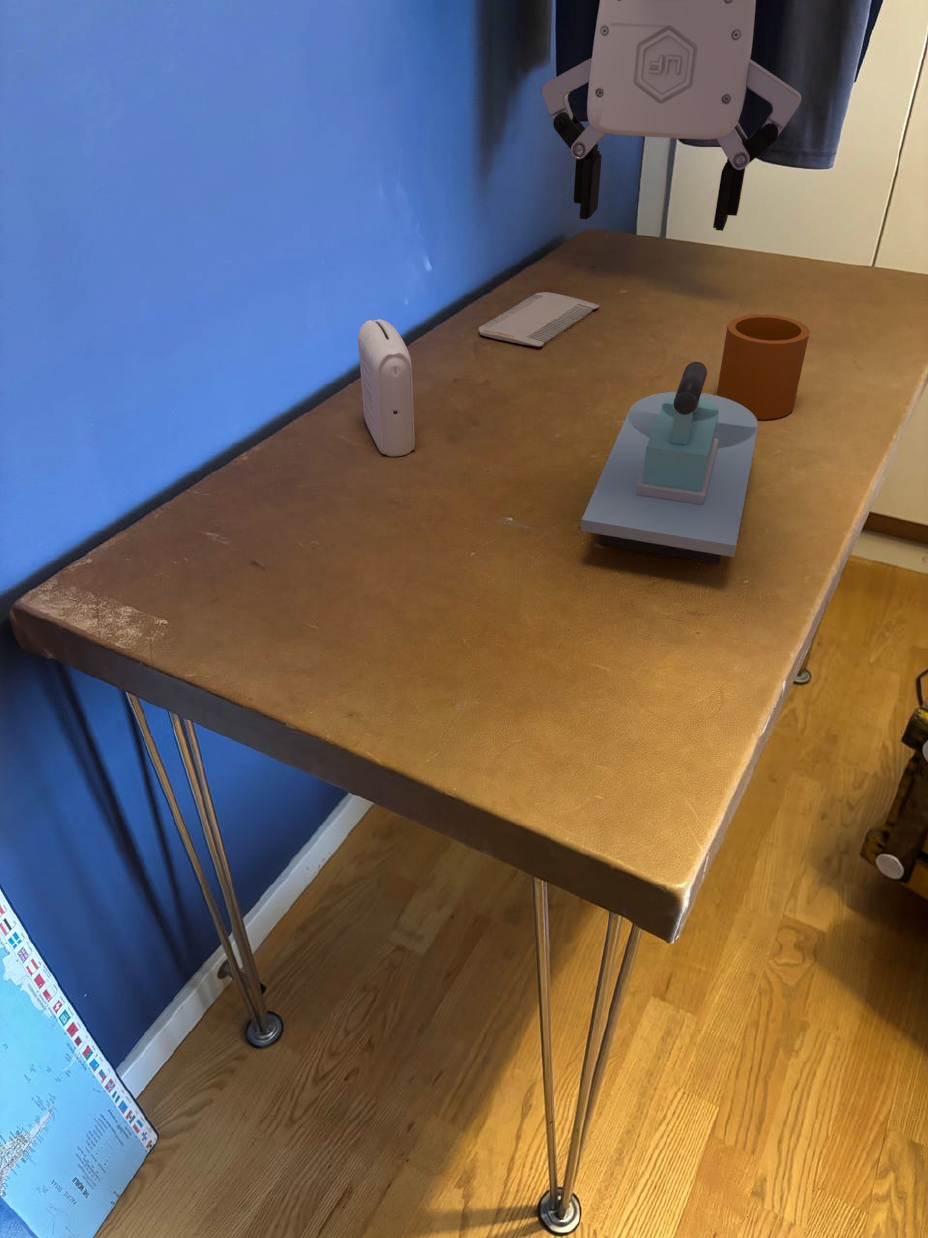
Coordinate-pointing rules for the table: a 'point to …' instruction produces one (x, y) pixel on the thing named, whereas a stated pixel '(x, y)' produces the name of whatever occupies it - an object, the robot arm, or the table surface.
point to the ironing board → (671, 521)
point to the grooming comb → (537, 319)
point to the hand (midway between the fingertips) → (653, 219)
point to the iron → (682, 444)
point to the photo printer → (387, 387)
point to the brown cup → (763, 363)
